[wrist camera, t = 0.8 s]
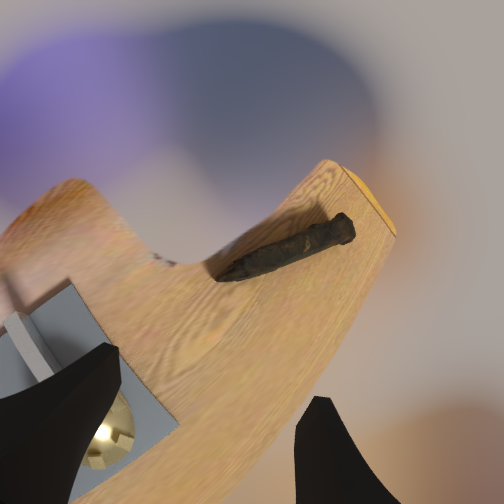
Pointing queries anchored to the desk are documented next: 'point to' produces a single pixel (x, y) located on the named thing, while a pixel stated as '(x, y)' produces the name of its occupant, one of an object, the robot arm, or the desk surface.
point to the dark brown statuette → (291, 249)
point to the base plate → (68, 351)
